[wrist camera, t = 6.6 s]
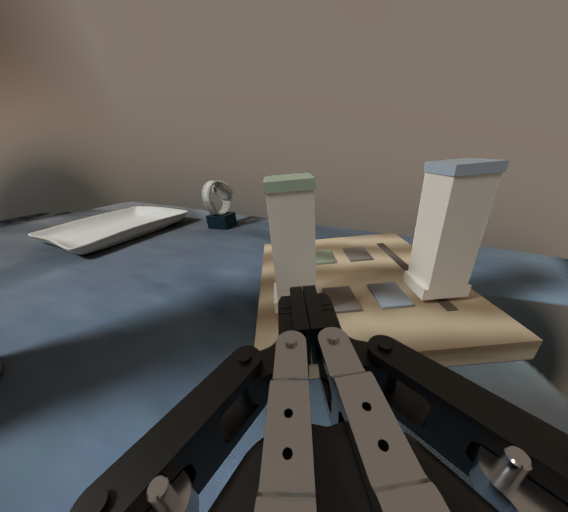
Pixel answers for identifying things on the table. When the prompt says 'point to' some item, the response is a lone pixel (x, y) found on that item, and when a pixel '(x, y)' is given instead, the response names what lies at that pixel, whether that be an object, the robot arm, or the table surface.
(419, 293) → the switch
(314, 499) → the robot arm
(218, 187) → the watch
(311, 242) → the tall beige block
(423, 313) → the switch board
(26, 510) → the table surface
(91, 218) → the square plate
